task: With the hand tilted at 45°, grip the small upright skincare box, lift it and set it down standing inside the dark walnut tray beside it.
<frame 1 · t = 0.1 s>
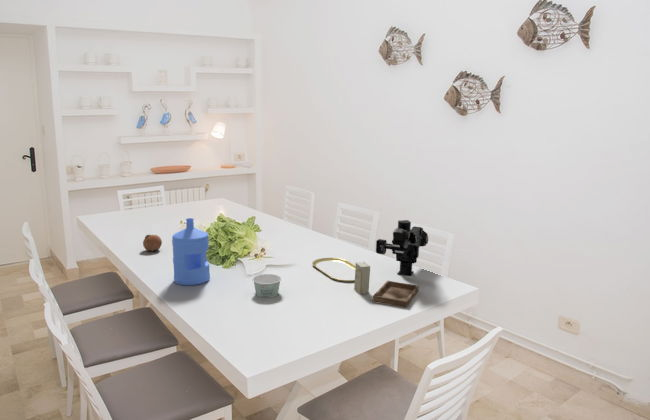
hand: (391, 254, 213), 17 cm above the table, tool horizontal, fingers open, 9 cm apart
food container: (267, 293, 212), on the table
gold hoop ring: (339, 271, 242), on the table
water jug: (192, 280, 226), on the table
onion: (153, 251, 269), on the table
walnut tray: (396, 296, 211), on the table
skincare box: (361, 291, 216), on the table
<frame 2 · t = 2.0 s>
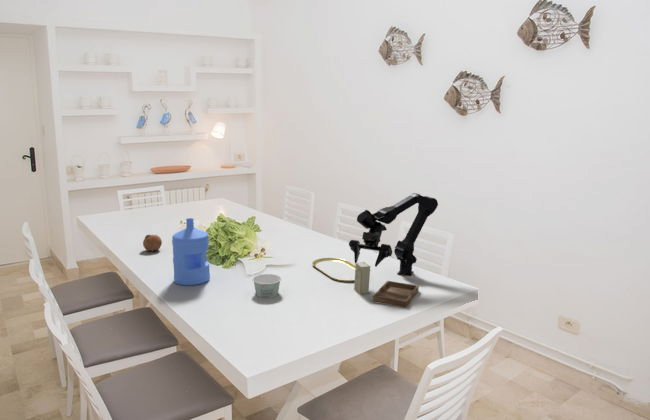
hand: (365, 264, 218), 11 cm above the table, tool tilted 45°, fingers open, 9 cm apart
nothing on the table moved.
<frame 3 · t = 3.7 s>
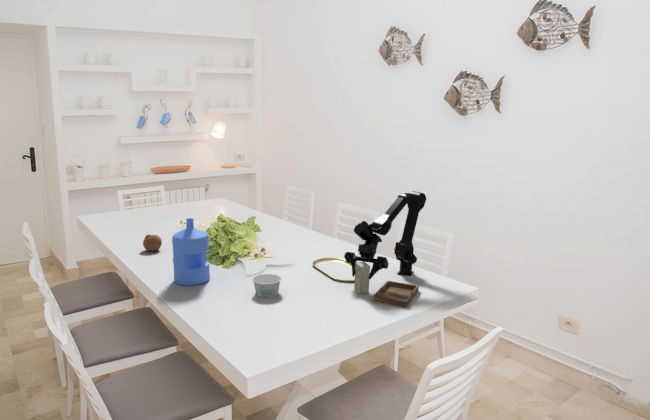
hand: (361, 277, 213), 7 cm above the table, tool tilted 45°, fingers closed on skincare box, 7 cm apart
skincare box: (361, 291, 216), on the table, touching gripper
everything else where it was.
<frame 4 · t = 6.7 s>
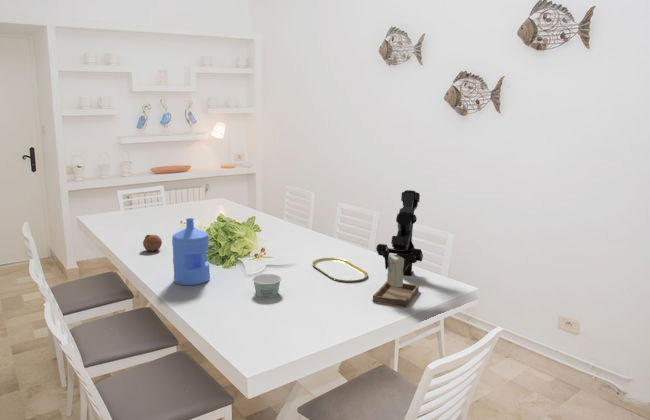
hand: (394, 270, 205), 13 cm above the table, tool tilted 45°, fingers closed on skincare box, 7 cm apart
skincare box: (395, 285, 207), point 6 cm above the table, touching gripper
everything else where it was.
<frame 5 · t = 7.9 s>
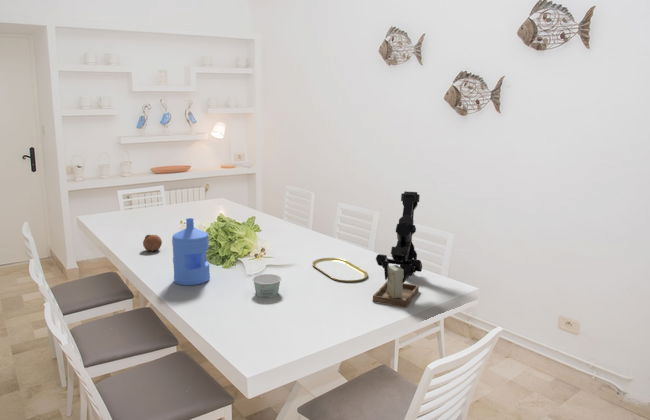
hand: (394, 281, 206), 8 cm above the table, tool tilted 45°, fingers closed on skincare box, 7 cm apart
skincare box: (394, 296, 208), point 1 cm above the table, touching gripper
everything else where it was.
when the fingers open (8 cm above the table, at t = 8.5 s): skincare box stays where it is, resting on walnut tray.
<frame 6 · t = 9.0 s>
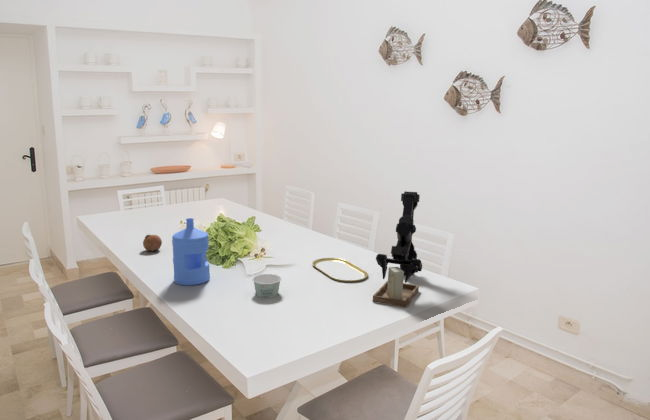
hand: (394, 280, 205), 8 cm above the table, tool tilted 45°, fingers open, 9 cm apart
skincare box: (394, 297, 208), resting on walnut tray
everything else where it was.
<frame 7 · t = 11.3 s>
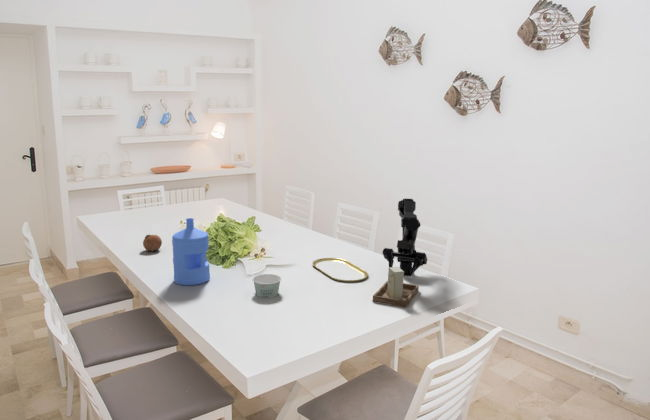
hand: (400, 273, 214), 8 cm above the table, tool tilted 45°, fingers open, 9 cm apart
nothing on the table moved.
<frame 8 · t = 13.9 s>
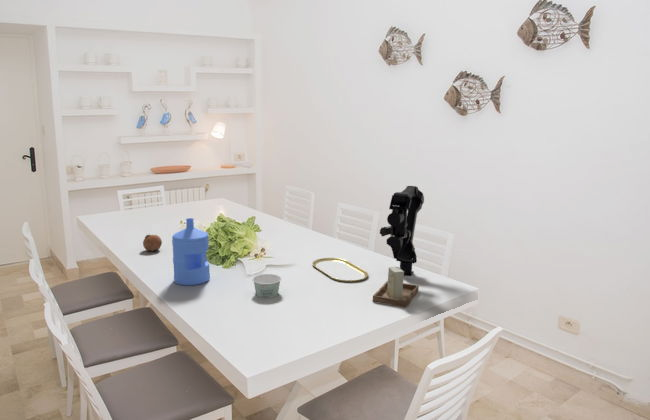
hand: (398, 255, 223), 13 cm above the table, tool pointing down, fingers open, 9 cm apart
nothing on the table moved.
at the end: skincare box inside the target area on the walnut tray (0.2 cm from its centre), point 0.4 cm above the walnut tray's base; skincare box tilted 0°; the gripper is holding nothing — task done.
